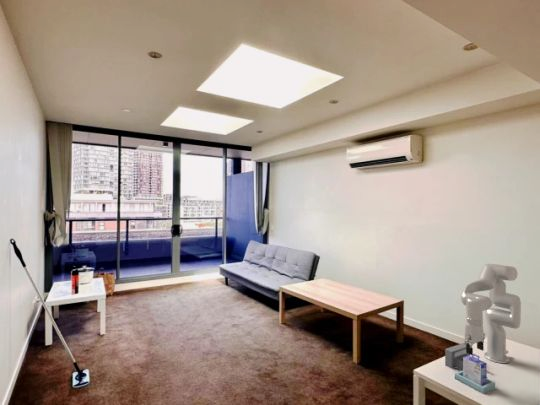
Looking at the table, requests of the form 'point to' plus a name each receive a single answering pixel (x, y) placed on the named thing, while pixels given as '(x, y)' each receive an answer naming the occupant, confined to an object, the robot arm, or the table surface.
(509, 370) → the table surface
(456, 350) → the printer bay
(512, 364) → the table surface
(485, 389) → the tray
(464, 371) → the ink cartridge box
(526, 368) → the table surface
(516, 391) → the table surface
